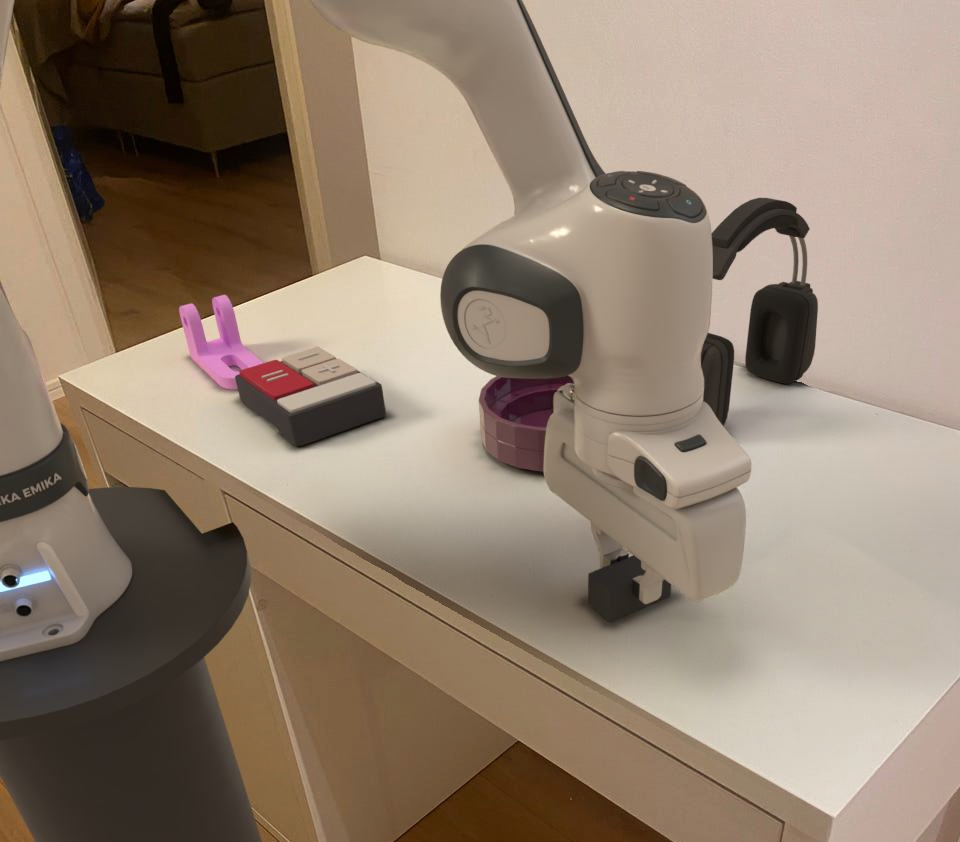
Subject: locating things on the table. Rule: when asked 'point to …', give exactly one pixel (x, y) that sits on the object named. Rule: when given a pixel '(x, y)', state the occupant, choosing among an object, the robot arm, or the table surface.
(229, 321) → the bracket
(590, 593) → the eraser
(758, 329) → the headphones
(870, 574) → the table surface
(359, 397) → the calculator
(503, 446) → the bowl
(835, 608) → the table surface
